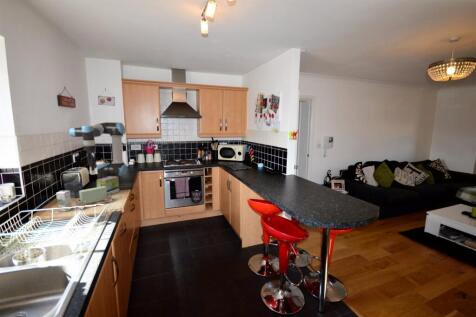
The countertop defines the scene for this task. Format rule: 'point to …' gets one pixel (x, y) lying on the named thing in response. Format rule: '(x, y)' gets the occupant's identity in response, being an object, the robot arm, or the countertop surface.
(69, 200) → the syrup box
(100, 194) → the pale green block
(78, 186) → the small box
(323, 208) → the countertop surface
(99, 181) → the tea box
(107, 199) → the cradle
